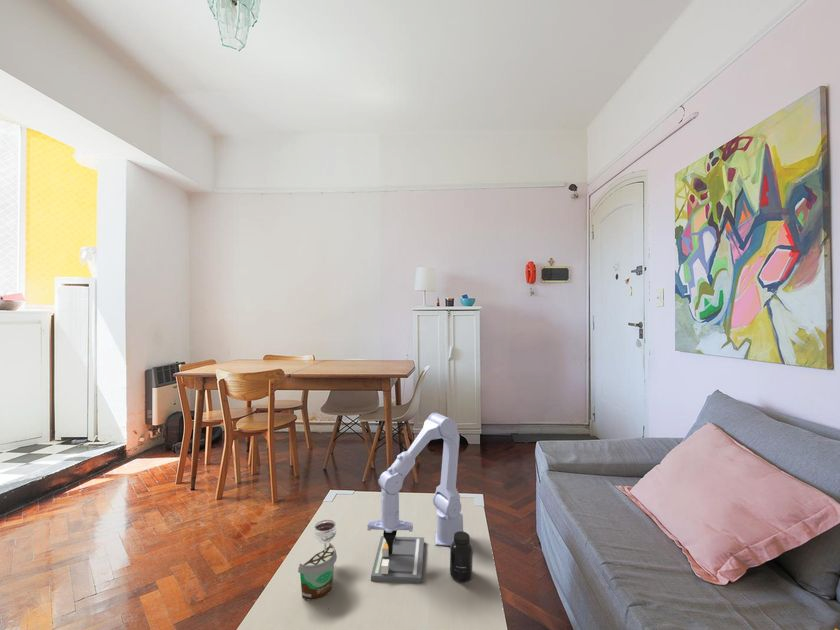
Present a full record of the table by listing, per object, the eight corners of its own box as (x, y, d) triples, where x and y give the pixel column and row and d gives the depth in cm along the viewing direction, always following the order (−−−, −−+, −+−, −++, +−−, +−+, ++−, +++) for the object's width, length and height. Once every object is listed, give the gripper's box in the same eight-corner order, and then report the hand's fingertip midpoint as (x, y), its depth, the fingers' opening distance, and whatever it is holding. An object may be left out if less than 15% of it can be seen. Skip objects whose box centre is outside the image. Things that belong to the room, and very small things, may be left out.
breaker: (389, 567, 114) (389, 559, 114) (387, 574, 111) (387, 566, 111) (382, 567, 114) (382, 559, 114) (381, 573, 111) (381, 565, 111)
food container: (313, 610, 99) (313, 572, 99) (297, 601, 103) (297, 564, 103) (345, 582, 110) (345, 548, 110) (330, 574, 113) (330, 541, 113)
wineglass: (309, 567, 116) (309, 528, 116) (322, 554, 123) (322, 517, 123) (327, 572, 114) (328, 533, 114) (340, 559, 120) (340, 521, 120)
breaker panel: (424, 541, 130) (424, 537, 130) (421, 582, 110) (421, 577, 110) (381, 540, 131) (381, 535, 131) (370, 580, 111) (370, 575, 111)
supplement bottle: (458, 586, 109) (458, 544, 109) (445, 571, 115) (445, 532, 115) (477, 578, 112) (477, 538, 112) (464, 564, 118) (464, 526, 118)
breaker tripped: (389, 550, 122) (389, 543, 122) (388, 556, 119) (388, 548, 119) (383, 550, 122) (383, 543, 122) (382, 556, 119) (382, 548, 119)
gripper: (365, 515, 117) (365, 559, 117) (411, 517, 116) (411, 560, 116) (369, 504, 124) (369, 545, 124) (413, 505, 123) (413, 546, 123)
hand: (390, 552), depth 120 cm, fingers closed, pressing on breaker tripped
